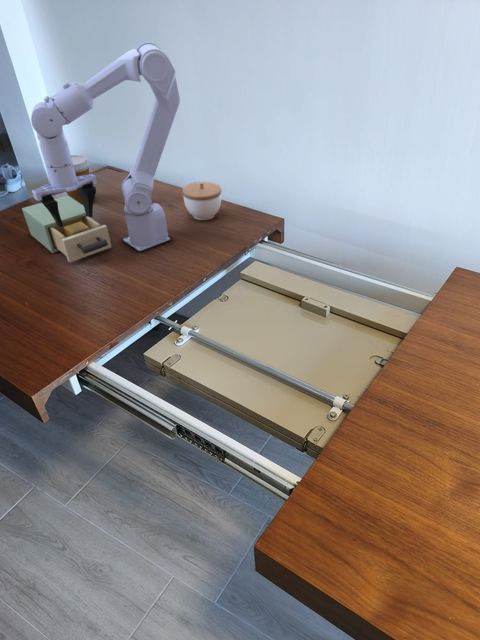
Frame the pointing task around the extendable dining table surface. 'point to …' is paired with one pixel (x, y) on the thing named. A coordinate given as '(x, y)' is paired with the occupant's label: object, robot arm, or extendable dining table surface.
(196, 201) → the trinket box
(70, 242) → the drawer
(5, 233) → the extendable dining table surface
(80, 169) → the disposable coffee cup
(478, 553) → the extendable dining table surface
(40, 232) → the cabinet
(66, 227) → the block
